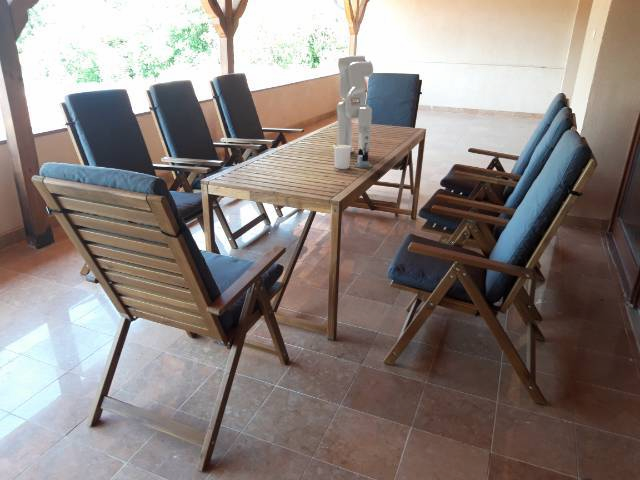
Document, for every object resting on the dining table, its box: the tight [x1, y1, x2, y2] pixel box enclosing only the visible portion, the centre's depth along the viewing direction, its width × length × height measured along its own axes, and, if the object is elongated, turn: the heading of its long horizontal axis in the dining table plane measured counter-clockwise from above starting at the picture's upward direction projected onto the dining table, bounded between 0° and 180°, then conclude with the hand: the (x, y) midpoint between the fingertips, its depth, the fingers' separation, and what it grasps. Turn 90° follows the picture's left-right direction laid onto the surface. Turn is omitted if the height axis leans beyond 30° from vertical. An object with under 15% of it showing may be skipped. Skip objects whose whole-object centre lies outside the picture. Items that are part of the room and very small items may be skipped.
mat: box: [352, 162, 374, 169], centre depth 280 cm, size 10×9×1 cm
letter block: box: [356, 154, 369, 166], centre depth 279 cm, size 5×5×5 cm
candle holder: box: [333, 144, 352, 170], centre depth 273 cm, size 10×10×12 cm
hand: (362, 159), depth 279 cm, fingers open, 8 cm apart
